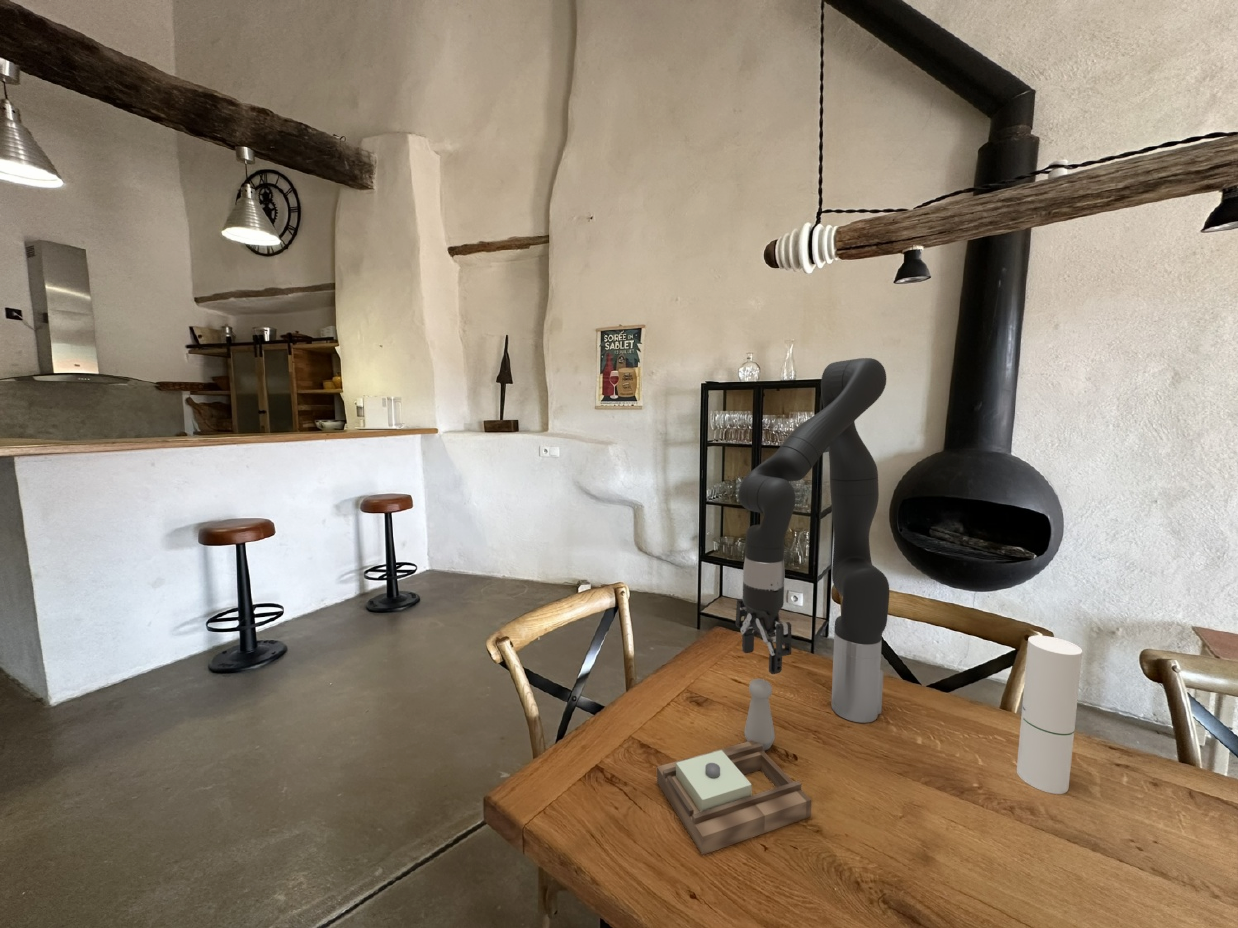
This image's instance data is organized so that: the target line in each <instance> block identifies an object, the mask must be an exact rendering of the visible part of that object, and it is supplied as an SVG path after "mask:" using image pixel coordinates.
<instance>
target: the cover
mask: <svg viewBox="0 0 1238 928" xmlns="http://www.w3.org/2000/svg"><path fill="white" fill-rule="evenodd" d="M676 777H677V778H678V780H679V781H680V783H681V784H682V786H683V787H684V789H685V790H686V792H687V793H688V794H689V796H690V797H691V799H692V800H693V802H694V803H695V805H696V806H697V808H698V809H699V811H700V812H702V811H705V810H708V809H712V808H715V807H718V806H721V805H724V804H727V803H730V802H733V801H736V800H739V799H743V798H746V797H749V796H752V788H753V787H752V783H751V782H750V781H749V780H748V778H747V777H746V775H743V774H742V773H741V772H740V771H739V769H738V768H737V767H736V766H735V765H734V764H733V763H732V761H731V760H730V759H729V758H728V757H727V756H726V755H725V753H724V752H723V751H722V750H720V751H716V752H713V753H709V754H706V755H702V756H698V757H695V758H691V759H688V760H684V761H680V762H677V763H676Z"/></svg>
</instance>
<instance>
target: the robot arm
mask: <svg viewBox="0 0 1238 928" xmlns="http://www.w3.org/2000/svg"><path fill="white" fill-rule="evenodd" d="M886 386H887V373H886V369H885V367H884V365H883V364H882V363H881V361H879V360H877V359H876V358H872V357H860V358H855V359H854V358H853V359H848V360H847V359H845V360H840V361H834V362H831V363H829V364H828V365H826V367H825V368H824V370H823V373H822V375H821V380H820V392H821V394H820V395H821V400H822V407H823V408H822V410H820V411H819V412H817V413H816V414H814V415H813V416H811V417H810V418H808V419H807V420H804V422H802V423H801V424H799V425H798V426H797V427H796V428H795V429H793V431H792V432H791V433H790V434H789V435H788V436H787V438H786V439H785V440H784V442H782V444H781V445H780V447H778V449H777V450H776V451H775V453H774V454H772V455H771V456H770V457H768V458H767V459H765V460H764V461H762V462H761V463H760V464H758V465H757V466H756V467H755V468H754V469H752V470H751V471H750V472H749V473H748V474H746V476H745V477H744V478H743V480H742V481H741V484H740V485H739V487H738V493H737V494H738V495H737V497H738V502H739V503H740V504H741V506H742V507H743V508H745V509H746V510H748V511H751V512H754V513H758V514H763V517H762V520H761V524H754V525H751V526H749V527H748V528H747V529H746V533H745V544H744V545H745V551H744V552H745V553H744V563H743V569H742V570H743V572H742V598H739V599H736V611H735V626H736V628H738V629H740V634H741V635H742V639H741V642H742V643H741V644H742V648H741V649H742V652H743V653H744V654H750V653H753V652H754V649H755V634H754V632H757V633H758V634H759V635H760V636H761V637H762V640H763V641H762V642H763V643H764V644H766V645H767V648H768V651H769V654H768V672H769V673H770V674H771V675H777V674H780V673H781V672H782V670H783V668H782V667H783V657H785V656H790V655H792V624H791V623H790V622H789V621H787V622H786V621H785V622H784V621H782V620H781V619H780V615H779V612H780V611H781V610H782V608H783V607H784V601H785V600H784V599H785V598H784V597H785V575H786V574H785V573H786V572H785V571H786V570H785V561H784V560H785V559H784V557H785V538H786V534H787V532H788V529H789V526H790V523H791V520H792V517H793V516H792V515H793V513H794V510H795V506H796V493H795V488H793V486H792V484H791V483H790V482H798V481H800V480H803V479H804V478H805V477H806V476H807V475H808V474H809V472H810V471H811V469H812V468H813V467H814V466H815V464H816V463H817V461H819V460H820V458H821V457H822V455H823V454H824V452H825V451H826V450H827V449H828V463H829V489H830V503H831V515H832V516H831V517H832V519H831V520H832V525H833V526H832V527H833V528H832V529H833V554H832V567H831V579H832V583H833V585H834V586H833V587H834V588H835V590H836V591H837V592H838V594H839V595H840V596H842V600H841V601H842V603H841V613H840V614H841V615H839V616H838V617H836V619H835V621H834V633H833V658H832V662H833V663H832V683H831V686H832V687H831V707H830V708H831V709H832V710H833V712H834V713H835V714H836V715H838V716H839V717H840V718H843V719H845V720H847V721H851V722H855V723H860V724H864V723H865V724H867V723H872V722H874V721H876V719H878V715H882V707H883V690H884V689H883V688H884V670H882V669H881V662H882V661H881V658H882V642H883V641H882V640H883V633H884V631H885V629H886V627H887V625H888V624H887V622H888V616H889V615H888V614H889V606H890V605H889V603H890V584H889V580H888V578H887V577H886V575H885V574H884V572H882V570H880V569H878V568H877V567H876V566H874V565H873V562H872V558H871V549H870V531H871V526H872V523H873V521H874V518H875V515H876V512H877V509H878V503H879V498H880V497H879V490H880V489H879V471H878V467H877V464H876V462H875V460H874V457H873V456H872V454H871V453H870V451H869V449H868V448H867V446H866V445H865V443H864V442H863V440H862V438H861V436H860V435H859V432H858V430H857V426H856V423H855V422H856V420H857V419H858V418H859V417H860V416H861V415H862V414H863V413H865V412H866V411H867V410H868V409H870V408H871V407H872V406H873V405H874V404H875V403H876V402H877V401H878V400H879V399H880V398H881V396H882V395H883V392H884V390H885V388H886ZM742 618H743V620H742ZM773 634H775V636H771V635H773ZM774 643H775V645H774Z"/></svg>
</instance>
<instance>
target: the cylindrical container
mask: <svg viewBox="0 0 1238 928" xmlns="http://www.w3.org/2000/svg"><path fill="white" fill-rule="evenodd" d="M1082 656H1083V650H1082V648H1081V647H1080V646H1078V645H1077V644H1075V643H1072V642H1070V641H1068V640H1065V639H1062V638H1057V637H1053V636H1047V635H1032V636H1029V637H1028V640H1027V650H1026V661H1025V671H1024V673H1025V674H1024V683H1023V693H1022V694H1023V695H1022V696H1023V697H1022V704H1021V705H1022V706H1021V707H1022V708H1021V715H1020V716H1021V718H1020V729H1019V740H1018V750H1017V762H1016V763H1017V764H1016V773H1017V775H1018V776H1019V778H1020V779H1021V780H1022V781H1023V782H1025V784H1027V785H1029V786H1031V787H1033V788H1035V789H1037V790H1039V791H1042V792H1045V793H1048V794H1054V795H1055V794H1056V795H1063V794H1066V793H1068V791H1069V786H1070V775H1071V768H1072V767H1071V766H1072V757H1073V749H1074V747H1073V745H1074V738H1075V737H1074V736H1075V727H1076V717H1077V710H1078V709H1077V706H1078V698H1079V687H1080V680H1081V679H1080V678H1081V677H1080V675H1081V668H1082V659H1083V657H1082Z"/></svg>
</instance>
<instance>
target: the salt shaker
mask: <svg viewBox="0 0 1238 928" xmlns="http://www.w3.org/2000/svg"><path fill="white" fill-rule="evenodd" d="M748 685H749V687H748V692H749V694H750V695H751V697H750V703H749V707H748V712H747V717H746V722H745V726H744V734H743V735H744V737H745V740H746V742H748V741H751V740H753V741H754V742H755V743H756V744H758V743H761V744H762V745H763V751H764V752H766V751H767V750H769V749H771V747H772V745H773V743H774V742H775V738H776V736H775V735H776V733H775V728H774V722H773V717H772V711H771V707H770V706H771V705H770V700H769V698H770V697H772V695H773V694H772V693H773V688H772V684H771V683H770V682H769V681H768V680H766V679H763V678H754V679H752V680H750V682H749V684H748Z"/></svg>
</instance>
